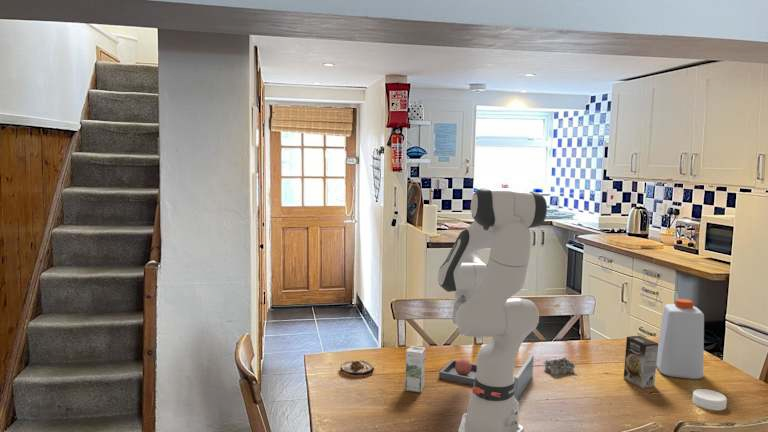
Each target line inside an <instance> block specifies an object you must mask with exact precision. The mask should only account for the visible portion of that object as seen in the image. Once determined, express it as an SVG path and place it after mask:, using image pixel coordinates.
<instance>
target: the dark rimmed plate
mask: <svg viewBox="0 0 768 432" xmlns="http://www.w3.org/2000/svg"><path fill="white" fill-rule="evenodd" d="M374 371H375V367H374V366H373V365H372V364H371V363H369V362H368V361H364V360H352V361H351V360H349V361H345V363H341V364H340V374H341V373H342V374H344V376H346V377H348V376H350V377H349V378H355V377H359V378H361V377H363V378H366V377H365V376H367V377H370V376H371V375H373V374H374ZM372 373H373V374H372ZM342 374H341V375H342ZM370 374H371V375H370ZM369 375H370V376H369Z"/></svg>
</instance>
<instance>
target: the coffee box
mask: <svg viewBox="0 0 768 432" xmlns="http://www.w3.org/2000/svg"><path fill="white" fill-rule="evenodd" d="M625 343H626V344H625V355H624V368H623V379H624V380H626V381H627V382H629V383H631V384H633V385H636V386H637V387H639V388H642V389H643V388H649V387H655V382H656V373H657V372H656V371H657V366H656V363H657V353H658V342H656V341H653V340H651V339H648V338H646V337H644V336H642V335H631V336H627V337H626V342H625Z"/></svg>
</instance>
